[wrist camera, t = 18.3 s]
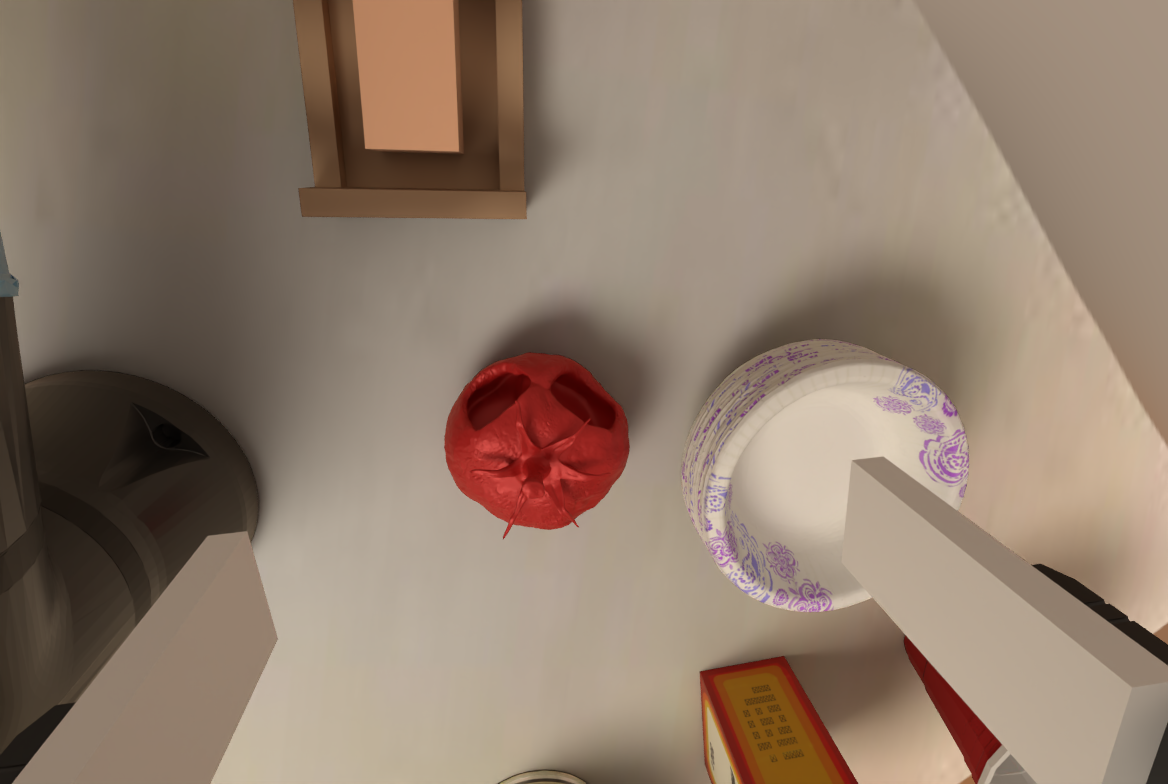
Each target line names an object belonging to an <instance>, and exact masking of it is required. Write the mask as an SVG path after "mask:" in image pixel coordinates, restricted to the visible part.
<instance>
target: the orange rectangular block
mask: <svg viewBox="0 0 1168 784" xmlns="http://www.w3.org/2000/svg"><path fill="white" fill-rule="evenodd" d="M353 11H354V23H355V34H356V46H357V58H358V69H359V81H360V93H361V104H362V116H363V127H364V139H365V149H370V150H375V151H381V152H411V153H444V154H464V136H463V108H462V81H461V54H460V27H459V0H353Z"/></svg>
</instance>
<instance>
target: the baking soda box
mask: <svg viewBox="0 0 1168 784" xmlns="http://www.w3.org/2000/svg"><path fill="white" fill-rule="evenodd" d="M700 685H701V703H702V721H703V740H704V758H705V766H706V769H707V772H708V775H709V778H710V780H711V783H712V784H858V782H857V781H856V779H855V777H854V775H853V774H852V772H851V770H850V769H849V767H848V765H847V763H846V762H845V760H844V758H843V757H842V755H841V753H840V751H839V750H838V748H837V746H836V745H835V743H834V741H833V739H832V738H831V736H830V734H829V732H828V731H827V729H826V727H825V726H824V724H823V722H822V720H821V719H820V717H819V715H818V714H817V712H816V710H815V708H814V707H813V705H812V703H811V702H810V700H809V698H808V696H807V695H806V693H805V691H804V690H803V688H802V686H801V684H800V683H799V681H798V679H797V678H796V676H795V674H794V672H793V671H792V669H791V667H790V666H789V664H788V662H787V660H786V659H785V657H784V656H782V657H776V658H771V659H765V660H760V661H755V662H749V663H744V664H738V665H733V666H727V667H722V668H717V669H711V670H706V671H700Z"/></svg>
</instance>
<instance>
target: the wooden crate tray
mask: <svg viewBox="0 0 1168 784" xmlns="http://www.w3.org/2000/svg"><path fill="white" fill-rule="evenodd" d="M293 5H294V14H295V22H296V30H297V39H298V47H299V56H300V64H301V73H302V81H303V89H304V98H305V106H306V115H307V123H308V131H309V140H310V148H311V157H312V165H313V174H314V182H315V187H309V188H298V189H299V197H300V205H301V213H302V217H385V218H472V219H527V217H526V192H525V191H524V122H523V39H522V0H459V27H460V54H461V81H462V108H463V136H464V154H444V153H411V152H381V151H375V150H370V149H365V139H364V127H363V116H362V104H361V93H360V81H359V69H358V58H357V46H356V34H355V23H354V11H353V0H293Z"/></svg>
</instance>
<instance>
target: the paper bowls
mask: <svg viewBox="0 0 1168 784" xmlns="http://www.w3.org/2000/svg"><path fill="white" fill-rule="evenodd" d="M968 449H969V446H968V443H967V437H966V434H965V430H964V426H963V424H962V422H961V419H960V417H959V414H958V412H957V410H956V408H955V407H954V405H953V404H952V402H951V400H950V399H949V398H948V396H947V395H946V394H945V393H944V392H943V391H942V390H941V388H939V387H938V386H937V385H936V384H935V383H934V382H932V381H931V380H930V379H929V378H928V377H926V376H925V375H923V374H921V373H919V372H918V371H916V370H914V369H912V368H909V367H907V366H905V365H902V364H900V363H898V362H896V361H894V360H892V359H890V358H888V357H885V356H882V355H880V354H878V353H876V352H874V351H872V350H870V349H868V348H865V347H862V346H858V345H855V344H852V343H849V342H844V341H839V340H830V339H819V340H818V339H812V340H806V341H800V342H794V343H790V344H786V345H783V346H780V347H778V348H775V349H771V350H769V351H767V352H765V353H763V354H760V355H758V356H756V357H754V358H753V359H751V360H749V361H748V362H746V363H744V364H743V365H741V366H740V367H738V368H737V369H736V370H734V371H733V372H732V373H731V374H730V375H729V376H728V377H727V378H726V379H725V380H724V381H723V382H722V383H721V384H720V385H719V386H718V387H717V388H716V390H715V391H714V392H713V393H712V394H711V395H710V397H709V398H708V400H707V401H706V403H705V404H704V405H703V407H702V409H701V411H700V412H699V414H698V416H697V417H696V419H695V421H694V423H693V425H692V427H691V429H690V432H689V435H688V438H687V441H686V445H685V450H684V453H683V460H682V469H681V483H682V490H683V497H684V501H685V504H686V507H687V510H688V512H689V515H690V518H691V520H692V523H693V525H694V527H695V528H696V530H697V531H698V533H699V535H700V537H701V539H702V541H703V542H704V544H705V546H706V547H707V549H708V551H709V552H710V554H711V556H712V558H713V559H714V561H715V563H716V565H717V566H718V568H719V569H720V570H721V571H722V573H723V574H724V575H725V576H726V577H727V578H728V579H729V580H730V581H731V582H732V583H733V584H734V585H735V586H737V587H738V588H739V589H740V590H742V591H743V592H744V593H746V594H747V595H748V596H750V597H753V598H754V599H756V600H758V601H761V602H763V603H765V604H768V605H771V606H774V607H777V608H781V609H786V610H791V611H799V612H822V611H830V610H836V609H841V608H845V607H848V606H852V605H855V604H858V603H860V602H863V601H866V600H868V599H870V598H872V596H871V595H870V594H869V593H868V592H867V591H866V590H865V589H864V587H863V586H862V585H861V584H860V583H859V582H858V581H857V579H856V578H855V577H854V576H853V575H852V574H851V573H850V572H849V570H848V569H847V568H846V567H845V566H844V565H843V564H842V563H841V561H842V551H843V541H844V531H845V521H846V511H847V502H848V492H849V482H850V472H851V462H852V460H857V459H865V458H874V457H882V456H883V457H885V458H886V459H888V460H889V461H890V462H892V463H893V464H894V465H896V466H897V467H898V468H900V469H901V470H902V471H904V472H905V473H907V474H908V475H909V476H911V477H912V478H913V479H915V480H916V481H917V482H919V483H920V484H922V485H923V486H924V487H926V488H927V489H928V490H930V491H931V492H932V493H934V494H935V495H936V496H938V497H939V498H941V499H942V500H943V501H945V502H946V503H947V504H949V505H950V506H951V507H953V508H954V509H956V510H957V511H958V510H959V508H960V505H961V502H962V499H963V497H964V493H965V489H966V486H967V478H968V468H969V450H968Z"/></svg>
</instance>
